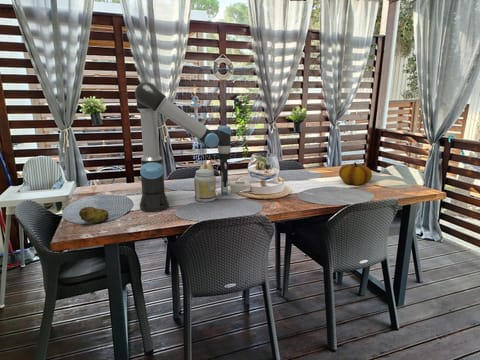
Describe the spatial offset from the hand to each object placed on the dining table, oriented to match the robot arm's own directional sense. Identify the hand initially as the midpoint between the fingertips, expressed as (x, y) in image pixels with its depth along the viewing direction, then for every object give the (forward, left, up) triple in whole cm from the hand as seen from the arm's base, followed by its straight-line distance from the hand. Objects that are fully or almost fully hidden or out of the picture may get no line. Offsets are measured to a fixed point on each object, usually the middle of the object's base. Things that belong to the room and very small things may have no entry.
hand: (224, 190), depth 198 cm
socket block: (+9, -11, -3) cm, 14 cm away
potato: (-34, +66, -3) cm, 74 cm away
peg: (0, 0, -3) cm, 3 cm away
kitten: (+27, +9, -3) cm, 29 cm away
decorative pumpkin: (+14, -92, -3) cm, 93 cm away
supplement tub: (-7, +12, -3) cm, 14 cm away
